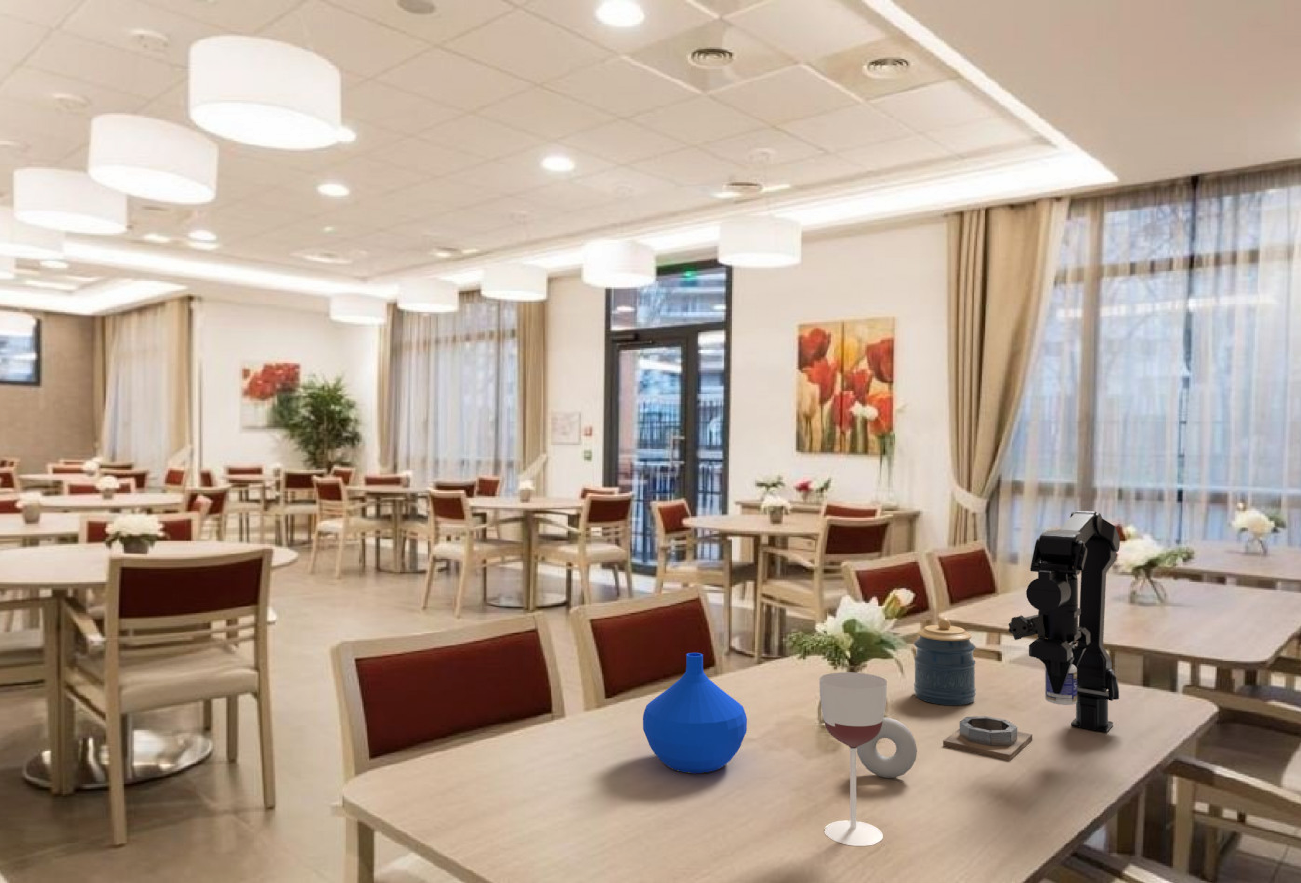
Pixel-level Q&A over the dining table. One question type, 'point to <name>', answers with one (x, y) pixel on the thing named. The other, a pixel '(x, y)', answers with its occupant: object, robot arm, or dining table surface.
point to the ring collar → (988, 731)
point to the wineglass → (853, 737)
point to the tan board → (994, 751)
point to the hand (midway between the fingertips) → (1060, 689)
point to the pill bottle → (1063, 689)
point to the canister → (944, 665)
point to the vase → (694, 722)
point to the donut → (900, 759)
